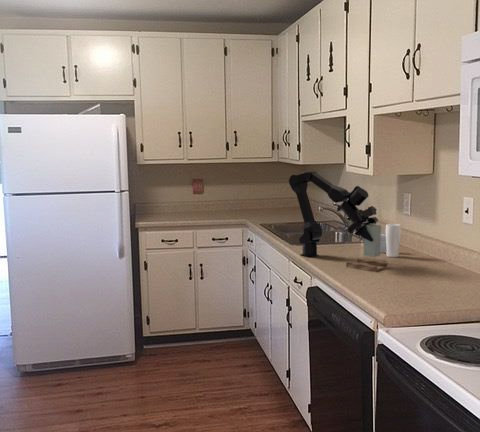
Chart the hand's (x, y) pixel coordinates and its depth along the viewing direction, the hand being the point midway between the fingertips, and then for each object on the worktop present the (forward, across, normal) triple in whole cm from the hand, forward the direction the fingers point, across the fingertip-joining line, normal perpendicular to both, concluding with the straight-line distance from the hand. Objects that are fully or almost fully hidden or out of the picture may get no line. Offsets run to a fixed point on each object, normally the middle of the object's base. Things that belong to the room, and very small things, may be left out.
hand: (375, 240), depth 232 cm
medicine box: (0, +32, +16) cm, 36 cm away
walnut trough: (+7, -4, +9) cm, 12 cm away
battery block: (+4, 0, +6) cm, 7 cm away
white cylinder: (+6, +25, +10) cm, 28 cm away
